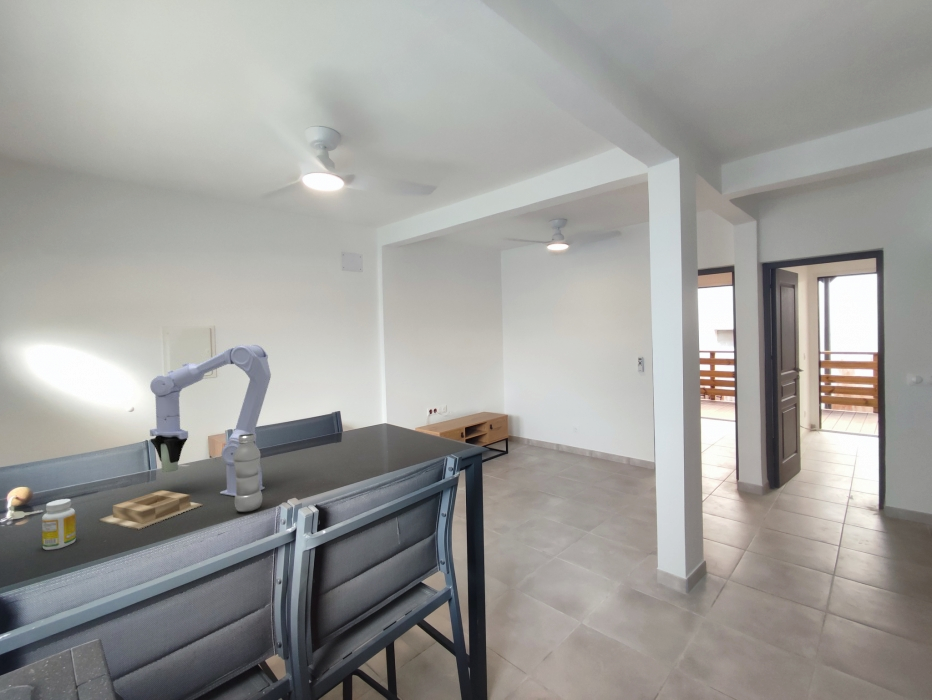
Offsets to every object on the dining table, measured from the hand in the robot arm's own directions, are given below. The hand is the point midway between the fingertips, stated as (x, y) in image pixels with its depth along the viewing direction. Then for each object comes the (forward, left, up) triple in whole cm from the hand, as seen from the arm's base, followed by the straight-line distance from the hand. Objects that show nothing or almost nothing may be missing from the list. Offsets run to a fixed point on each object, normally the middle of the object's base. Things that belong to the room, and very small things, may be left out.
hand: (169, 461), depth 126 cm
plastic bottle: (-33, +1, -10) cm, 35 cm away
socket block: (-10, +11, -10) cm, 18 cm away
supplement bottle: (-9, +30, -10) cm, 33 cm away
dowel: (0, 0, -3) cm, 3 cm away
